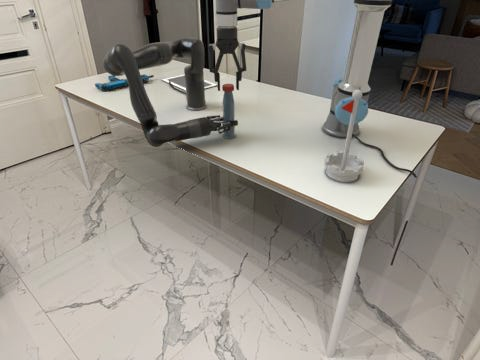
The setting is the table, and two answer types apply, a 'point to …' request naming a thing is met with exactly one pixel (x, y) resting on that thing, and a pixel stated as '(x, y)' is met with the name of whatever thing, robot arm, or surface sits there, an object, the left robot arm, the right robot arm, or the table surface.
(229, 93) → the bottle
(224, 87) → the cap
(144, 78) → the submachine gun
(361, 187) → the table surface
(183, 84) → the tablet
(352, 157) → the flag stand
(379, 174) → the table surface
